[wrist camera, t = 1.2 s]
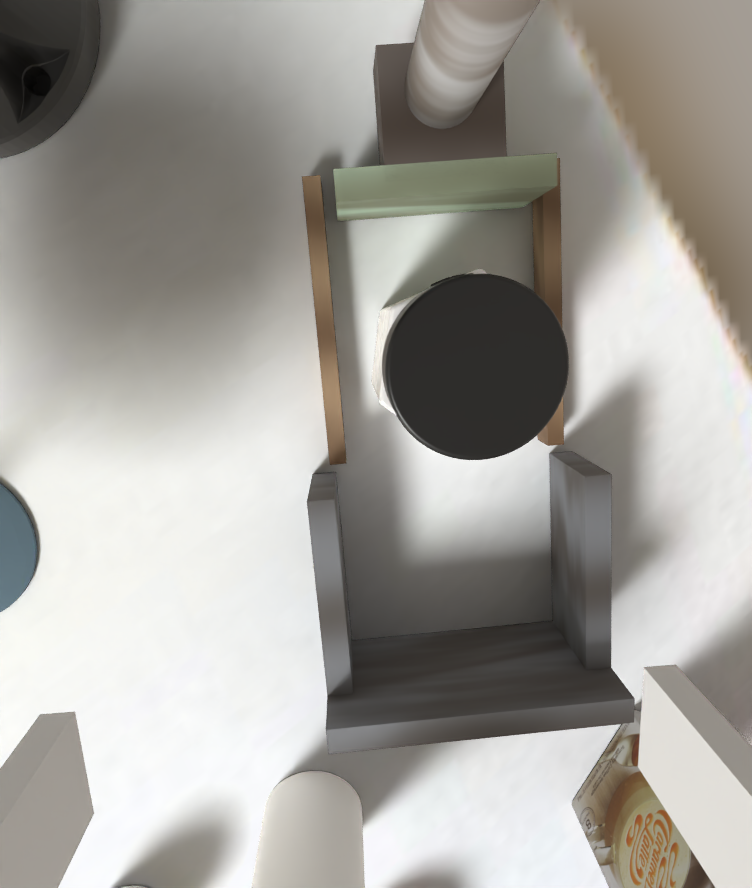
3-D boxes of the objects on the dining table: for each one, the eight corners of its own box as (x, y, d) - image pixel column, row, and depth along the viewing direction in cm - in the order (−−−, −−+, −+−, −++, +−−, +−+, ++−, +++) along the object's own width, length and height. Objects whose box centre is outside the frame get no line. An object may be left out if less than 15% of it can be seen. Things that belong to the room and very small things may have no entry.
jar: (532, 344, 38) (616, 355, 26) (452, 446, 39) (499, 501, 27) (420, 254, 36) (456, 224, 25) (341, 363, 38) (339, 383, 26)
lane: (283, 185, 35) (262, 141, 26) (568, 165, 36) (641, 115, 27) (332, 662, 42) (328, 753, 33) (574, 638, 42) (634, 722, 33)
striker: (326, 95, 34) (306, -146, 16) (519, 82, 34) (701, -167, 17) (337, 221, 35) (329, 124, 18) (522, 207, 36) (694, 98, 18)
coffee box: (628, 704, 44) (788, 922, 28) (702, 736, 44) (897, 964, 29) (567, 804, 45) (685, 1064, 29) (639, 833, 46) (791, 1100, 30)
